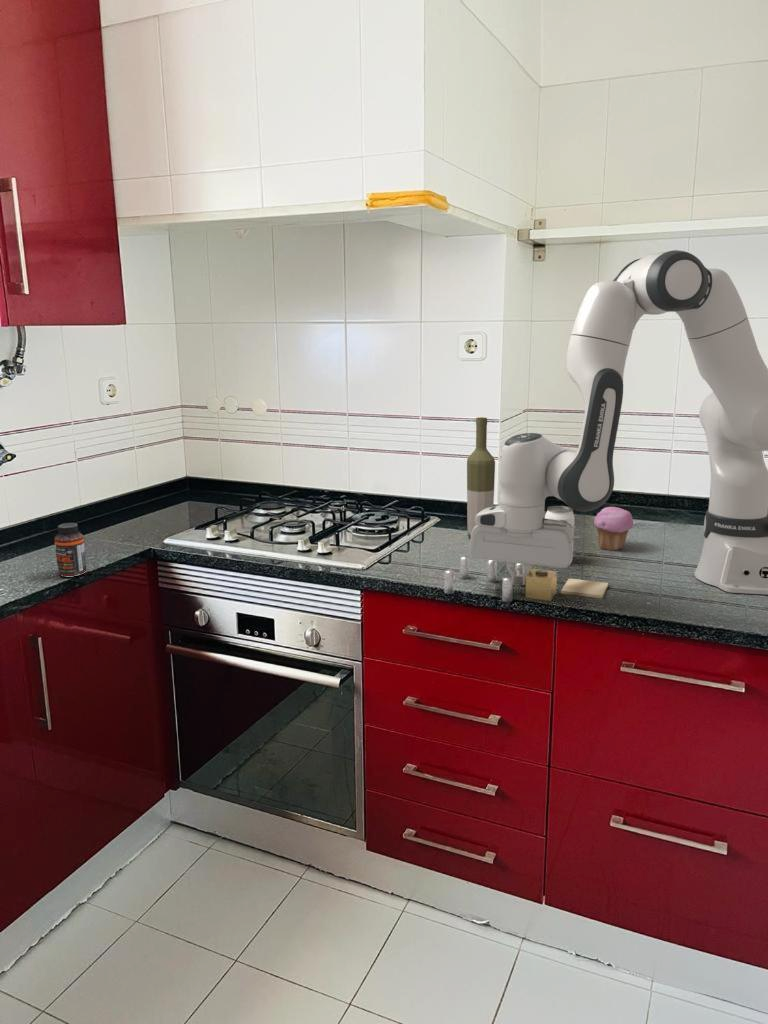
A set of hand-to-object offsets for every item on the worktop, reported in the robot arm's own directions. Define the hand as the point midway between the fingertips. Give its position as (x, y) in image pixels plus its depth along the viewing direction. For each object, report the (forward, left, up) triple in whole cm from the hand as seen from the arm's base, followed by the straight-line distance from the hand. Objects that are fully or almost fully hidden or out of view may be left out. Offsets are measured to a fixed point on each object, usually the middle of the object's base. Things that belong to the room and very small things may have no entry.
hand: (519, 583), depth 157 cm
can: (-3, -24, -2) cm, 24 cm away
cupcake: (-13, -38, -2) cm, 40 cm away
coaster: (-12, -6, -2) cm, 14 cm away
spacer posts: (+7, 0, -2) cm, 7 cm away
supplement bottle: (+94, +24, -2) cm, 97 cm away
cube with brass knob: (-4, 0, -2) cm, 5 cm away
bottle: (+19, -36, -2) cm, 41 cm away
